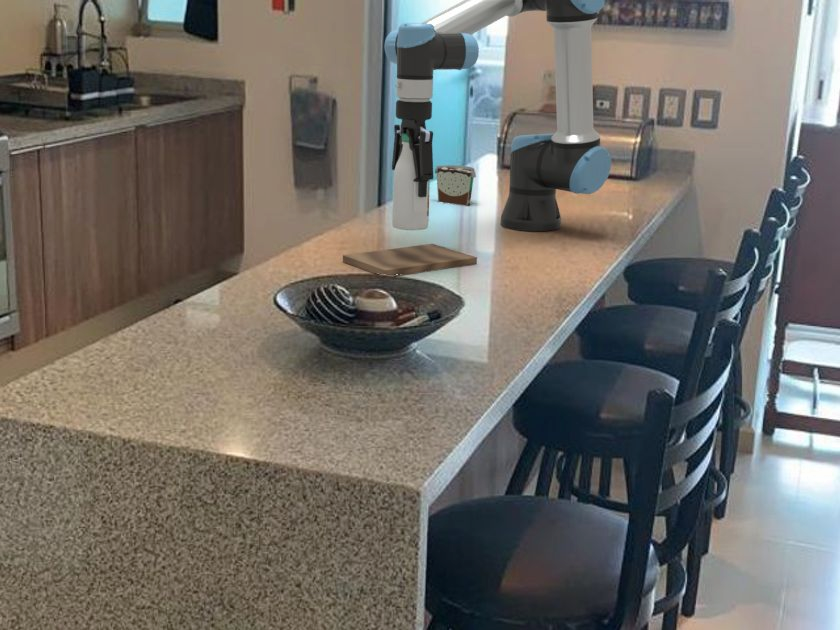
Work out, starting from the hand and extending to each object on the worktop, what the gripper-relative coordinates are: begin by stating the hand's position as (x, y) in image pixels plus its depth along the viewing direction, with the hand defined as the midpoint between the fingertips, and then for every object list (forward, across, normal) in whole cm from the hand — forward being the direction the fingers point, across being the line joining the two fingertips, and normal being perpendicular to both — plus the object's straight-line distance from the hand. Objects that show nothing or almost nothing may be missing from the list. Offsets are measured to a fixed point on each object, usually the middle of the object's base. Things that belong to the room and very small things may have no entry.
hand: (411, 208), depth 247 cm
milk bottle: (+4, 0, 0) cm, 4 cm away
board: (+12, 0, 0) cm, 12 cm away
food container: (+12, -62, +45) cm, 78 cm away
